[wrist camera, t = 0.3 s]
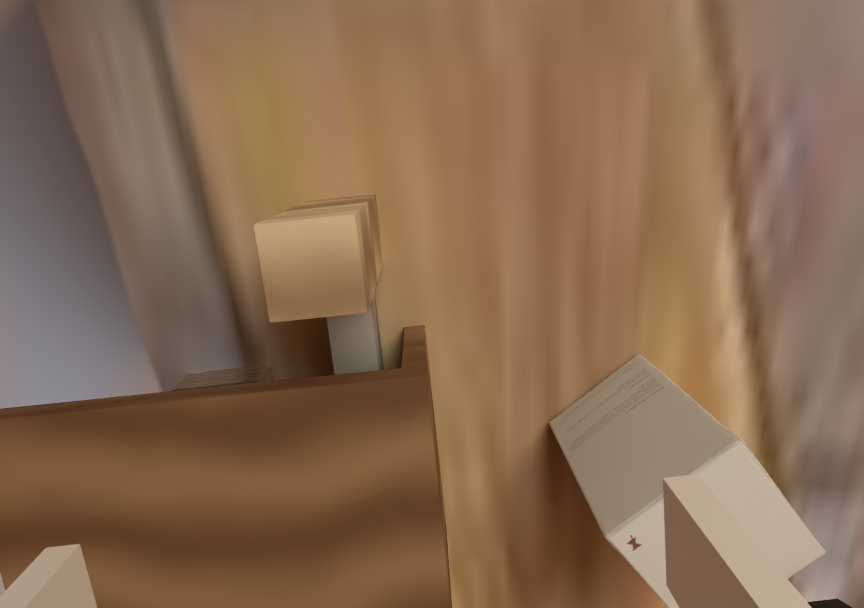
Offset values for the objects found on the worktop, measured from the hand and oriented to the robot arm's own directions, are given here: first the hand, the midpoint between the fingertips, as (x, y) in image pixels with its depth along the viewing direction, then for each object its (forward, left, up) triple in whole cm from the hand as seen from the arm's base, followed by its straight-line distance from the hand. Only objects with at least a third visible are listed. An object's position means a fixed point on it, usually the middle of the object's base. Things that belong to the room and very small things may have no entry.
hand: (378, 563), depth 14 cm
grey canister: (+9, +13, -25) cm, 30 cm away
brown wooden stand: (+8, -10, -25) cm, 28 cm away
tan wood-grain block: (+2, -3, -25) cm, 25 cm away
